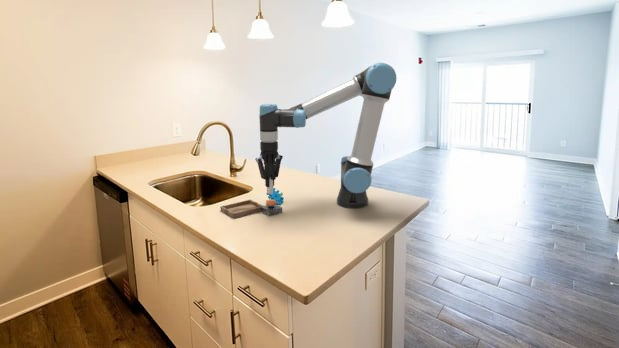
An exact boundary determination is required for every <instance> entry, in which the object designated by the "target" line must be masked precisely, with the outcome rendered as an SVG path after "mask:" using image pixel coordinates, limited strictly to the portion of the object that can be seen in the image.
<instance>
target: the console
mask: <svg viewBox="0 0 619 348" xmlns="http://www.w3.org/2000/svg"><path fill="white" fill-rule="evenodd" d="M260 208H261V212H260V213H262V214H263V215H266V216H268V217H272V216H274V215H275V216H276V215H278V214H282V213H283V207H282V206H280V205H279V204H277V205H274V206H273V207H270V206H267V205H266V204H265V205H263V206H262V207H260Z"/></svg>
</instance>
